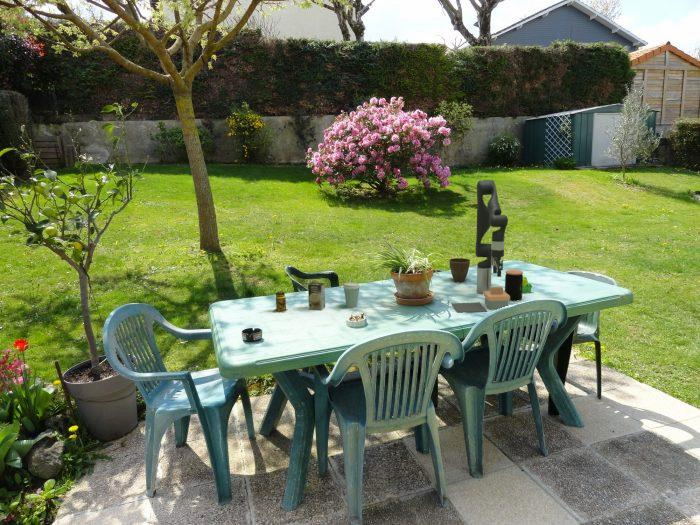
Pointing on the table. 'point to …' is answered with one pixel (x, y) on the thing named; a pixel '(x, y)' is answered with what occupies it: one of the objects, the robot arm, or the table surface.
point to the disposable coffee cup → (351, 294)
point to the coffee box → (316, 295)
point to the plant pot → (459, 268)
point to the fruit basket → (526, 286)
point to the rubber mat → (468, 307)
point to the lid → (496, 294)
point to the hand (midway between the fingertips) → (496, 274)
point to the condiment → (280, 302)
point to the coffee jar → (514, 284)
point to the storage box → (495, 304)
